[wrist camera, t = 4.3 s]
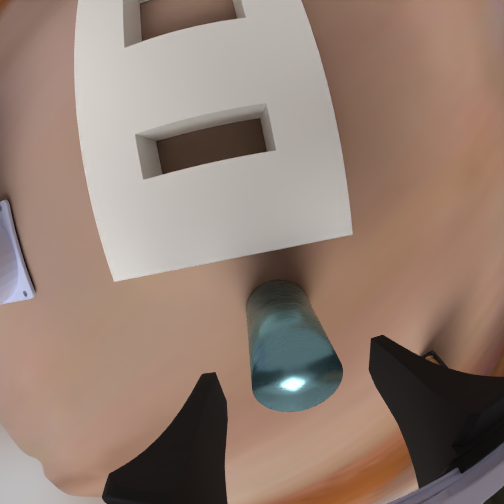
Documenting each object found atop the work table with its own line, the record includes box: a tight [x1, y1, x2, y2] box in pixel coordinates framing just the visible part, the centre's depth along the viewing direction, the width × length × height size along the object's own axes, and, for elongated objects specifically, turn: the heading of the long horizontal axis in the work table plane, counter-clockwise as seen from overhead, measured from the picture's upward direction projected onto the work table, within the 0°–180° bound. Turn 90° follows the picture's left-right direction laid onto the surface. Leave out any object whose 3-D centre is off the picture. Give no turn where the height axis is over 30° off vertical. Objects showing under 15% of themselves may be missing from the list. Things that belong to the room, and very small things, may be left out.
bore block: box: [74, 0, 353, 282], centre depth 11 cm, size 12×20×4 cm, turn 11°
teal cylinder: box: [246, 280, 343, 412], centre depth 14 cm, size 4×4×7 cm
